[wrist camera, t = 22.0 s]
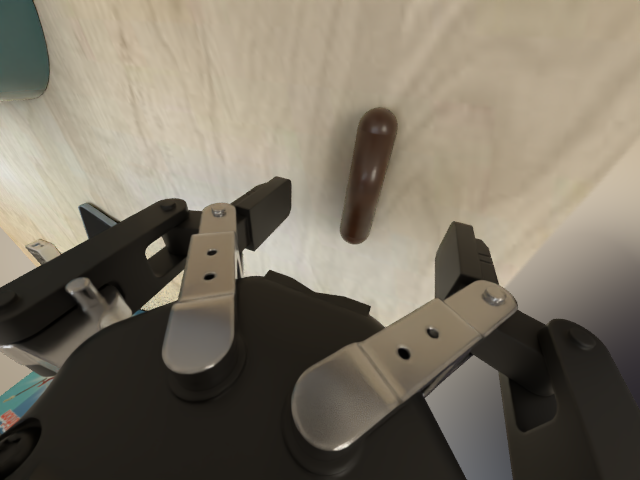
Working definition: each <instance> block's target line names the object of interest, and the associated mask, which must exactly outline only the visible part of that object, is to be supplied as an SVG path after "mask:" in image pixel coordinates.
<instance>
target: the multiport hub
mask: <svg viewBox="0 0 640 480" xmlns="http://www.w3.org/2000/svg"><path fill="white" fill-rule="evenodd" d="M25 247H26V248H27V249H28V251H29V252H30V253H31V254H32V255H33V256H34V257H35V258H36V259H37V261H38V262H39V263H40V264H41V265H43V264H44V263H46V262H48V261H50V260H52V259H54V258H55V257H57V256H59V255H61V254H60V253H59V251H58V250H57V249H56V248H55V246H54V245H53V244H51V243H49V242H46V241H43V240H40V239H39V240H37V241H35V242H32V243H30V244H28V245H26V246H25Z"/></svg>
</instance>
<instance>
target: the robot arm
mask: <svg viewBox="0 0 640 480" xmlns="http://www.w3.org/2000/svg"><path fill="white" fill-rule="evenodd" d="M291 187H292V185H291V181H290V180H289V179H285V178H281V177H277V176H276V177H274V178H273V179H271V180H270V181H269V182H267V183H264V184H261V185H258V186H256V187H254V188H253V189H251V191H248V192H247V193H246V194H244V195H243V196H241V197H240V198H238V199H237V200H235V201H234V202H232V203H231V204H228V203H215V204H211V205H209V206H207V207H205V208H204V209H203V210H202V211H192V210H188V207H187V204H186V202H185V201H184V200H182V199H176V198H172V199H165V200H161V201H158V202H156V203H154V204H152V205H151V206H149V207H147V208H145V209H143V210H141V211H140V212H138V213H136V214H134V215H132V216H130V217H129V218H127V219H125V220H123V221H121V222H120V223H118V224H116V225H114V226H112V227H110V228H109V229H107V230H105V231H103V232H101V233H99V234H98V235H96V236H94V237H92V238H90V239H88V240H87V241H85V242H83V243H81V244H79V245H77V246H76V247H74V248H72V249H70V250H68V251H66V252H65V253H63V254H61V255H59V256H57V257H55V258H54V259H52V260H50V261H48V262H46V263H44V264H43V265H41V266H39V267H37V268H36V269H33V270H32V271H30V272H28V273H26V274H24V275H23V276H21V277H19V278H17V279H15V280H13V281H12V282H10V283H8V284H6V285H4V286H2V287H1V288H0V351H1V352H2V353H4V354H5V355H7V356H8V357H9V358H11V359H13V360H14V361H15V362H17V363H19V364H21V365H25V366H27V367H28V368H29V369H31V370H32V371H34V372H35V373H37V374H38V375H40V376H43V377H52V376H55V377H54V379H53V380H52V382H51V383H50V384H49V386H48V387H47V388H46V390H45V391H44V392H43V393H42V395H41V396H40V397H39V398H38V399H37V401H36V402H35V403H34V404H33V405H32V406H31V407H30V408H29V410H28V411H27V412H26V413H25V414H24V415H23V416H22V417H21V418H20V419H19V420H18V421H17V422H16V423H15V424H14V425H13V426H11V427H10V428H9V429H8V430H7V431H5V432H4V433H3V434H2V435H0V480H467V479H466V477H465V475H464V473H463V472H462V470H461V468H460V466H459V464H458V462H457V460H456V458H455V456H454V454H453V452H452V450H451V449H450V447H449V445H448V443H447V441H446V439H445V437H444V435H443V433H442V431H441V429H440V427H439V425H438V423H437V421H436V420H435V418H434V416H433V414H432V412H431V410H430V408H429V406H428V404H427V402H426V400H425V397H426V396H428V395H429V394H430V393H431V392H432V391H433V390H434V389H435V388H436V387H437V386H438V385H439V384H440V383H441V382H442V381H444V380H445V379H446V378H447V377H448V376H449V375H450V374H452V373H453V372H454V371H455V370H456V369H458V368H459V367H460V366H461V365H462V364H463V363H464V362H466V361H467V360H468V359H469V358H470V357H471V356H473V355H475V356H476V357H478V358H479V359H481V360H482V361H484V362H485V363H487V364H489V365H490V366H492V367H493V368H495V369H496V370H498V372H499V380H500V387H501V394H502V402H503V409H504V417H505V424H506V432H507V439H508V447H509V454H510V461H511V469H512V476H513V480H640V410H639V408H638V406H637V404H636V402H635V400H634V399H633V397H632V395H631V393H630V391H629V389H628V387H627V385H626V383H625V382H624V379H623V378H622V376H621V374H620V372H619V370H618V368H617V366H616V364H615V362H614V361H613V359H612V357H611V355H610V353H609V351H608V349H607V348H606V346H605V345H604V344H603V343H602V342H601V341H600V340H599V339H598V338H597V337H596V336H595V335H594V334H592V333H591V332H590V331H588V330H587V329H585V328H584V327H582V326H580V325H578V324H576V323H574V322H571V321H568V320H565V319H553V320H551V321H550V322H549V323H548V324H546V325H545V324H543V323H541V322H539V321H537V320H535V319H534V318H532V317H530V316H528V315H526V314H524V313H522V312H521V311H519V310H518V305H517V302H516V300H515V298H514V297H513V296H512V295H511V293H509V292H508V291H507V290H506V289H504V288H503V287H501V286H499V283H498V280H497V276H496V272H495V269H494V265H492V264H493V262H492V258H491V255H490V251H489V248H488V247H487V246H486V245H485V243H484V242H483V241H482V240H480V239H476V238H475V236H474V231H473V227H472V226H471V225H467V224H463V223H459V222H455V221H453V222H452V223H451V225H450V227H449V229H448V231H447V233H446V235H445V237H444V238H443V240H442V242H441V244H440V246H439V248H438V251H437V254H436V258H435V299H433V300H431V301H430V302H428V303H426V304H425V305H423V306H421V307H420V308H418V309H416V310H415V311H413V312H411V313H410V314H408V315H406V316H404V317H403V318H401V319H399V320H398V321H396V322H394V323H393V324H391V325H389V326H388V327H386V328H385V327H384V326H383V325H382V324H381V323H380V322H378V321H377V320H376V319H375V318H373V317H372V316H370V315H369V311H370V308H371V306H369V305H366V304H363V303H361V302H358V301H355V300H352V299H349V298H347V297H344V296H337V295H330V294H323V293H316V292H314V291H312V290H310V289H309V288H307V287H306V286H304V285H303V284H301V283H299V282H298V281H296V280H295V279H293V278H291V277H288V276H285V275H283V274H280V273H277V272H274V271H272V270H269V271H268V273H267V274H266V275H265V276H264V277H263V276H250V277H244V265H243V253H242V251H243V250H244V249H245V248H246V249H249V250H252V251H255V250H256V249H257V248H258V247H259V246H260V245H261V244H262V243H263V242H264V241H265V240H266V239H267V238H268V237H269V236H270V235H271V234H272V233H273V232H274V230H275V229H276V228H277V227H278V226H279V225H280V224H281V223H282V222H283V221H284V220H285V219H286V218H287V217H288V216H289V214H290V211H291ZM161 236H162V237H163V240H164V242H165V245H166V246H165V247H164V248H163V249H161V250H160V251H159V252H157V253H156V254H155V255H153V256H152V257H151V258H149V259H148V260H147V258H146V256H145V251H146V248H147V247H148V246H149V245H150V244H151V243H152V242H154V241H155V240H157V239H158V238H160V237H161ZM182 270H184V274H183V279H182V283H181V288H180V293H179V298H178V300H177V301H174V302H171V303H169V304H166V305H163V306H160V307H157V308H155V309H152V310H149V311H146V312H143V313H141V314H138V315H135V316H132V315H133V314H135V313H136V312H137V311H138V310H139V309H140V308H141V307H142V306H143V305H145V304H146V303H147V302H148V301H149V300H150V299H151V298H152V297H153V296H155V295H156V294H157V293H158V292H159V291H160V290H161V289H162V288H164V287H165V286H166V285H167V284H168V283H169V282H170V281H171V280H172V279H174V278H175V277H176V276H177V275H178V274H179V273H180V272H181V271H182ZM131 316H132V317H131Z"/></svg>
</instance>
